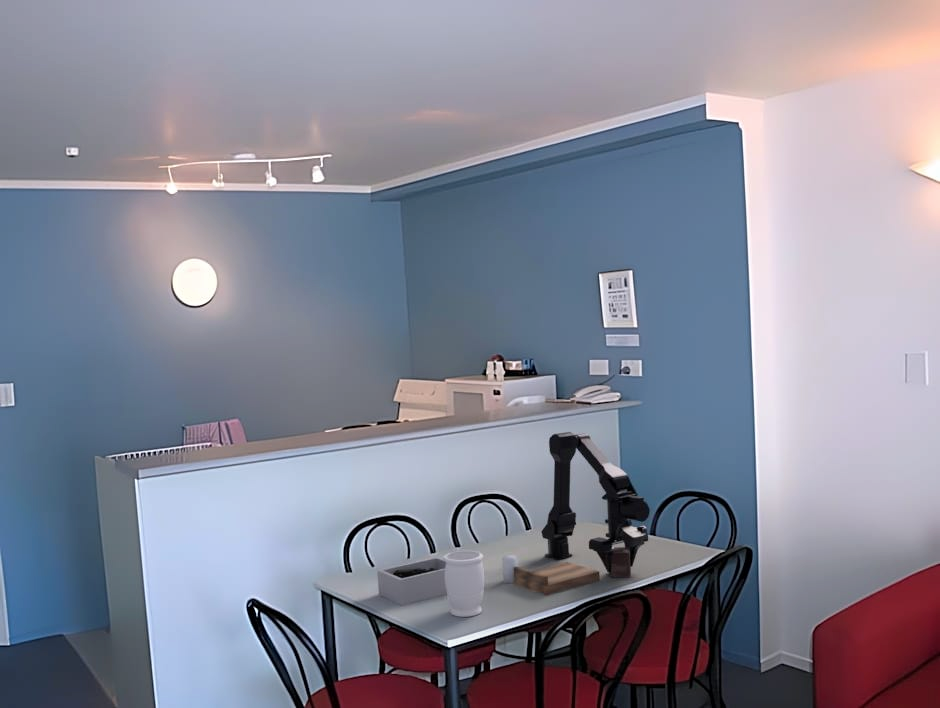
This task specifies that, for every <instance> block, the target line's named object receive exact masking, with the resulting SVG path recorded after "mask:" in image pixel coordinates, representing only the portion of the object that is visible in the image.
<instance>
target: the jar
mask: <svg viewBox="0 0 940 708" xmlns="http://www.w3.org/2000/svg"><path fill="white" fill-rule="evenodd" d="M443 559H444V561H445V562H446V566H445V586H446V590H447V594H446V595H447V598H448V602H449V604H450V606H451V608H450V610H449V611H450V614H451V615H452V616H454V617H460V618H466V617H467V618H468V617H470V618H471V617H474V616H477V615H479V614H481V613H482V612H483V608H482V606H481V604H482V601H483V599H484V588H485V570H484V566H483V565H484V564H483V562H482V561H483V560H484V554H483V553H482V552H481V551H477V550H476V551H475V550H458V551H453V552H449V553H446V554H445V555H443Z"/></svg>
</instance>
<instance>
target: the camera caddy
mask: <svg viewBox="0 0 940 708" xmlns="http://www.w3.org/2000/svg"><path fill="white" fill-rule="evenodd" d="M445 566H446V562H445V561H444V558H441V557H439V556H434V557H431V558H425V559H422V560H417V561H413V562H409V563H405V564H399V565H395V566H390V567H386V568H382V569H377V570H376V571H377V586H378V588H377V589H378V595H379V596H380V597H382V598H385V599H387V600H389V601H391V602H392V603H395V604H398V605H399V606H401V607H403V606H406V605H409V604H414V603H417V602H422V601H427V600H429V599H430V600H431V599H433V598H437V597H441V596H446V595H447V590H446V586H445ZM417 568H421V569H426V570H429V569H430V568H434V569H440V570H436V571H432V572H428V573H423V574H419V575H415V576H410V577H406V578H399V577H397V576H394V575H393V573H394V572H395V571H396V570H406V569H417Z"/></svg>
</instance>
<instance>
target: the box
mask: <svg viewBox="0 0 940 708" xmlns="http://www.w3.org/2000/svg"><path fill="white" fill-rule="evenodd" d="M611 550H613V551H614V552H613V553H612V555H611V572H610V573H609V572H608V574H609V577H610V578H631V575H632V569H631V568H632V567H631V565H630V547H625V546H619V547H616V546H612V549H611Z"/></svg>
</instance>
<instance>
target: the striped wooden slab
mask: <svg viewBox="0 0 940 708" xmlns="http://www.w3.org/2000/svg"><path fill="white" fill-rule="evenodd" d="M600 576H601V575H600V571H598V570H595V569H592V568H589V567H586V566H582V565H578V564H576V563H571V562H569V561H567V562H563V563H558V564H554V565H551V566H547V567H543V568H542V567H541V568H537V569H535V570H530V569H526V568H524V567H523V568H522V567H520V566H518V567H517V566H516V567H514V583H513V584H514V585H516V586H518V587H521V588H524V589H527V590H529V591H532V592H535V593H539V594H541V595H544V596H547V595H551V594H554V593H559V592H563V591H566V590H569V589H573V588H577V587H580V585H581V586H583V585H588V584H591V583H594V582H599V581H600V579H601V578H600Z"/></svg>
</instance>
